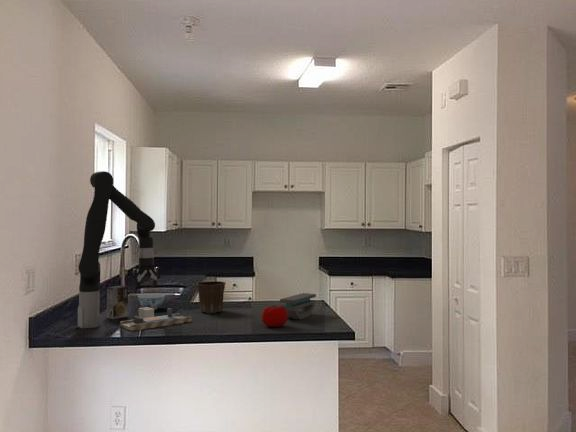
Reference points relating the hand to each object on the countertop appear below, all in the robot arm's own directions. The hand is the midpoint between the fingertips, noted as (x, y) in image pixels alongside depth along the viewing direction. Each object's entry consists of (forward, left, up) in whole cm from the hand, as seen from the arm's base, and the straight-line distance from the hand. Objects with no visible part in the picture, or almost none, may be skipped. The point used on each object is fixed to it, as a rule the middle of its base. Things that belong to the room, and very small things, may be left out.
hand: (146, 288), depth 268 cm
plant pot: (+38, -2, -17) cm, 41 cm away
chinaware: (+17, +28, -17) cm, 37 cm away
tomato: (+39, -56, -17) cm, 70 cm away
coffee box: (-8, +17, -17) cm, 25 cm away
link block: (0, 0, -16) cm, 16 cm away
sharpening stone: (+64, -46, -17) cm, 80 cm away
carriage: (0, -13, -15) cm, 20 cm away
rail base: (-1, -13, -16) cm, 21 cm away
